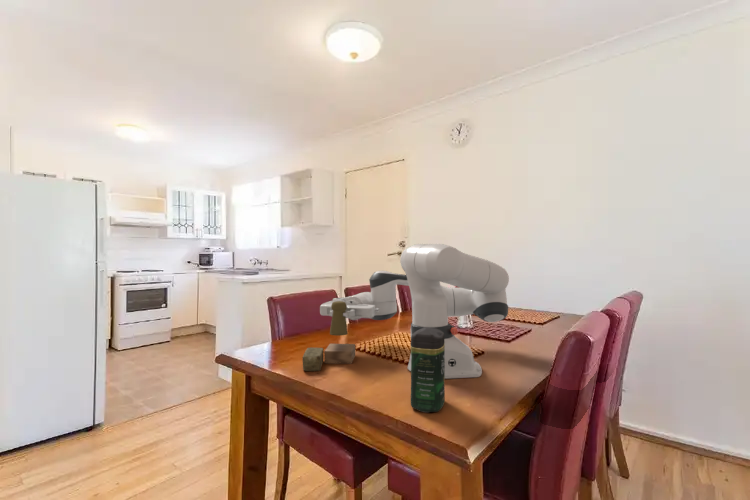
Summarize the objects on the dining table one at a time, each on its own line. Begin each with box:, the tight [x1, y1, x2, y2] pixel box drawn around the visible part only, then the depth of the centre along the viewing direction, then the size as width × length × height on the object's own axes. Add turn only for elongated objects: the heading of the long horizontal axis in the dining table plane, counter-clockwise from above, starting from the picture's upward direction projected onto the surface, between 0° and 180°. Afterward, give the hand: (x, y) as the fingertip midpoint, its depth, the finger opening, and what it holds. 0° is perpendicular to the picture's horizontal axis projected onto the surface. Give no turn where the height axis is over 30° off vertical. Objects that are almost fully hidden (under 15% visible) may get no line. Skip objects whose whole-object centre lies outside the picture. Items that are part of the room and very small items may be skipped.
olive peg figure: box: [329, 301, 348, 336], centre depth 127 cm, size 6×6×11 cm
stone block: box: [301, 347, 325, 372], centre depth 120 cm, size 6×12×5 cm, turn 3°
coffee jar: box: [410, 327, 446, 413], centre depth 90 cm, size 10×8×19 cm
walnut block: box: [323, 343, 356, 365], centre depth 127 cm, size 9×9×4 cm
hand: (338, 314), depth 126 cm, fingers closed on olive peg figure, 3 cm apart
